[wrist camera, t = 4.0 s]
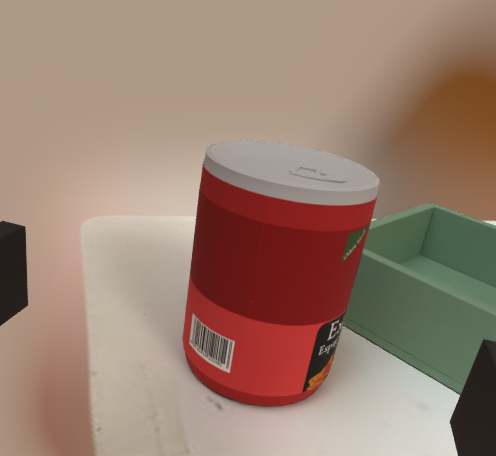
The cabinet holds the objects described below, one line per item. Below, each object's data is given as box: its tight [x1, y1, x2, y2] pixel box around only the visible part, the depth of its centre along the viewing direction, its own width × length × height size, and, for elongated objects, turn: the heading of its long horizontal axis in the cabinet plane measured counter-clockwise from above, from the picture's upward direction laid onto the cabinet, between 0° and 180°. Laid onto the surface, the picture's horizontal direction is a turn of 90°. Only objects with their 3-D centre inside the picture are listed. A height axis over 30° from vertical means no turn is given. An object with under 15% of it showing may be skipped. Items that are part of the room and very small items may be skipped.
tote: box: [343, 203, 496, 394], centre depth 31 cm, size 16×16×5 cm
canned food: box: [183, 140, 379, 406], centre depth 23 cm, size 8×8×11 cm
